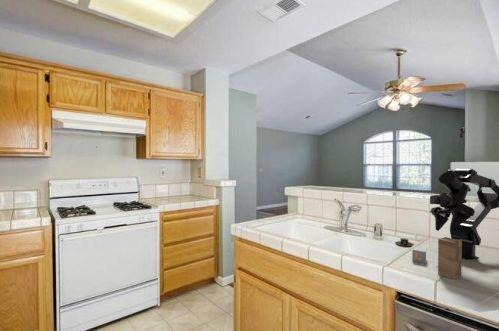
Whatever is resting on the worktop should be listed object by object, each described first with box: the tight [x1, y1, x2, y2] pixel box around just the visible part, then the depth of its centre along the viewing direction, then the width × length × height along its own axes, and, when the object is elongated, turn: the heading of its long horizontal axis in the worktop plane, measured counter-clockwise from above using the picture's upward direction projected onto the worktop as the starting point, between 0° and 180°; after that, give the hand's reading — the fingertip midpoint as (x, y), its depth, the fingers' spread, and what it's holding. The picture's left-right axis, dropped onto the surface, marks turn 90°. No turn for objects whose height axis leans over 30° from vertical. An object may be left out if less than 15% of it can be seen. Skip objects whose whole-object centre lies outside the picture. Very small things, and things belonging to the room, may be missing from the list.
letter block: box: [411, 246, 427, 264], centre depth 108 cm, size 5×4×4 cm
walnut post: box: [437, 237, 463, 280], centre depth 94 cm, size 5×5×12 cm
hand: (443, 230), depth 107 cm, fingers open, 9 cm apart
